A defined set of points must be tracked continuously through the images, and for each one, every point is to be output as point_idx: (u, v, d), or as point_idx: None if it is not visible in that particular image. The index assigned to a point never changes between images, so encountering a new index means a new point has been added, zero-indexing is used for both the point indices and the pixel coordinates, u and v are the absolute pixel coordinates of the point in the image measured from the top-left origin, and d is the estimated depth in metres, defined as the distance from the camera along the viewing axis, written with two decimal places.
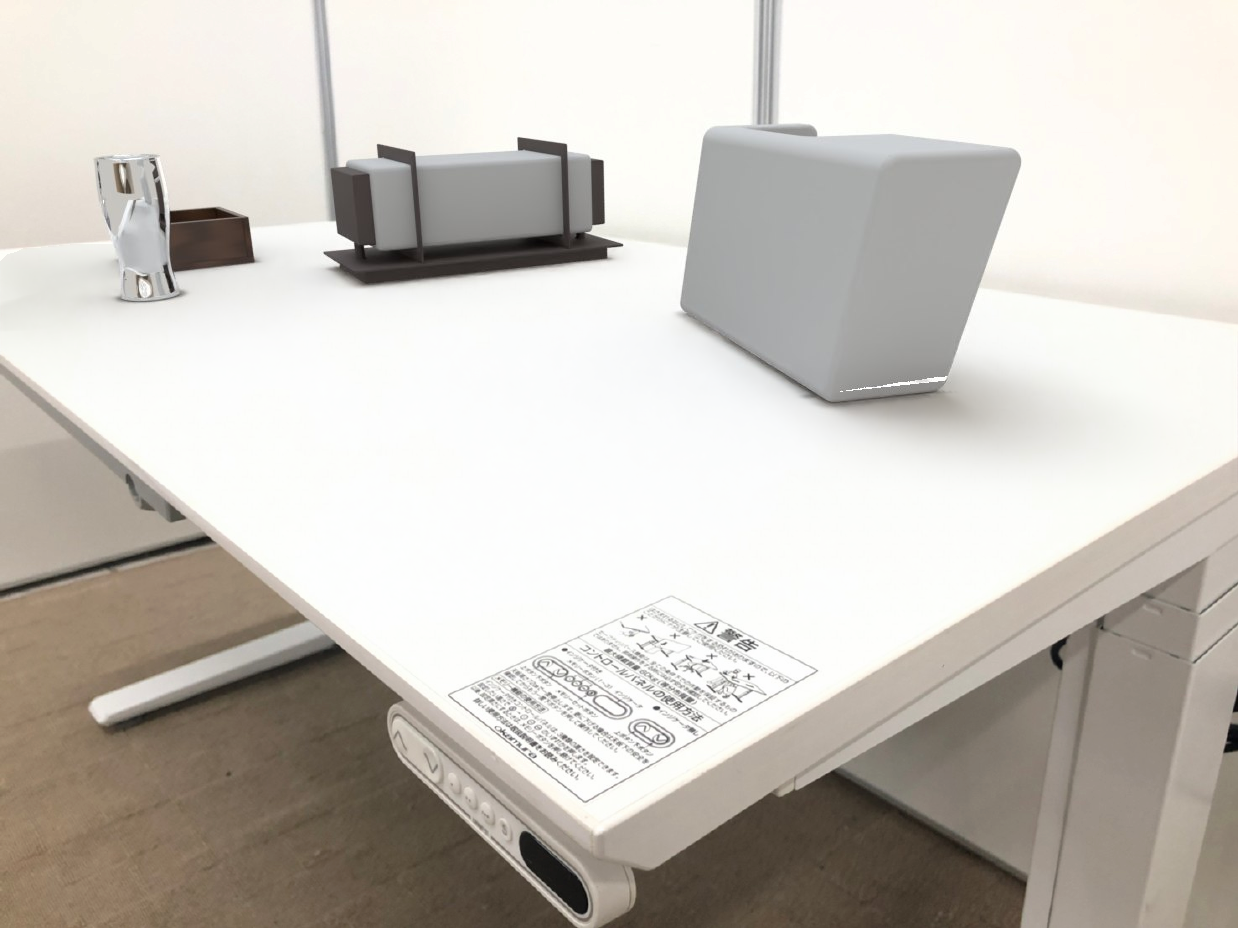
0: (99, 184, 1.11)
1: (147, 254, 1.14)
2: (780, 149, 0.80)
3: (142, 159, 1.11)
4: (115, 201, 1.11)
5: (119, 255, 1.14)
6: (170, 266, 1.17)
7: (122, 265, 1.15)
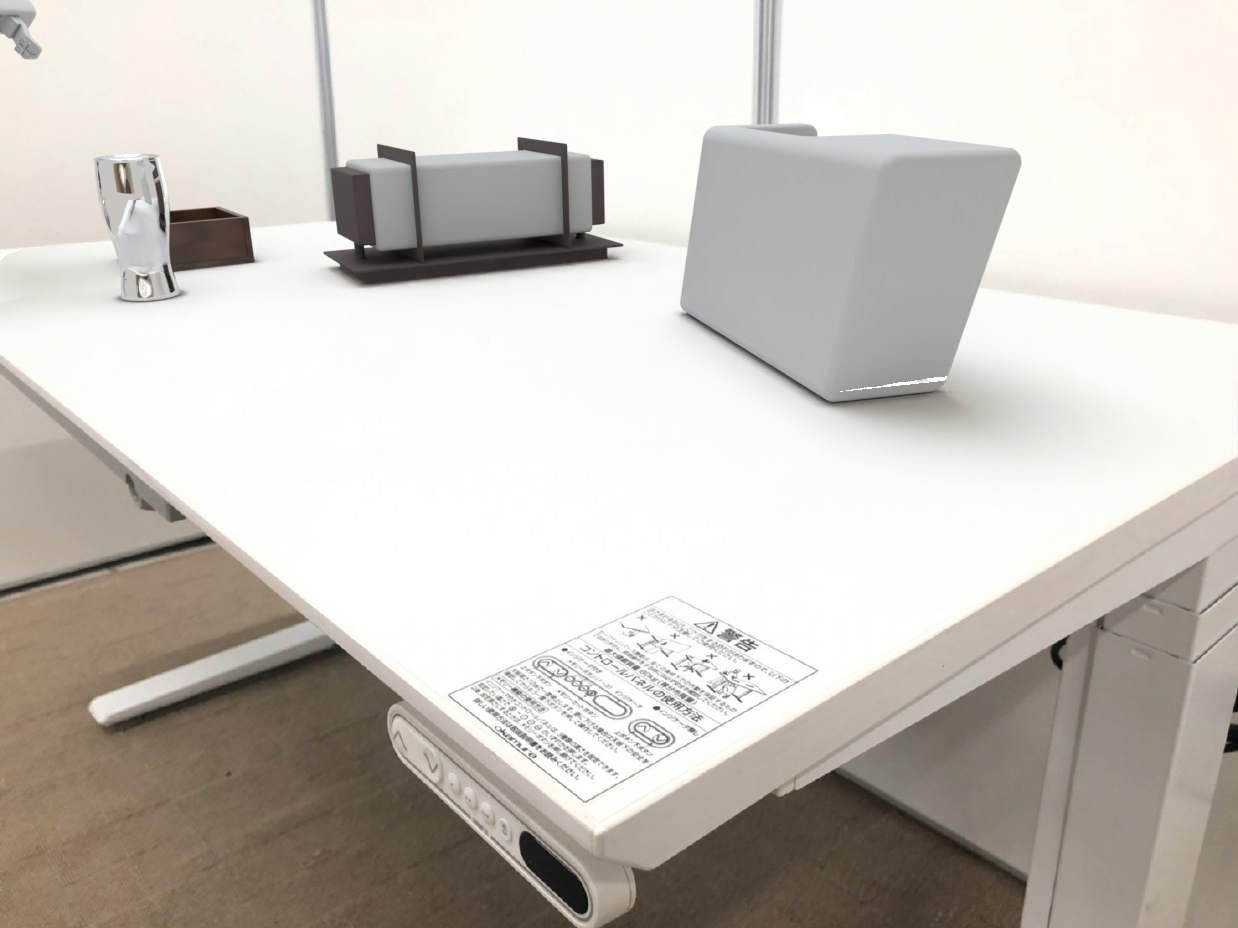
0: (99, 184, 1.11)
1: (147, 254, 1.14)
2: (780, 149, 0.80)
3: (142, 159, 1.11)
4: (115, 201, 1.11)
5: (119, 255, 1.14)
6: (170, 266, 1.17)
7: (122, 265, 1.15)
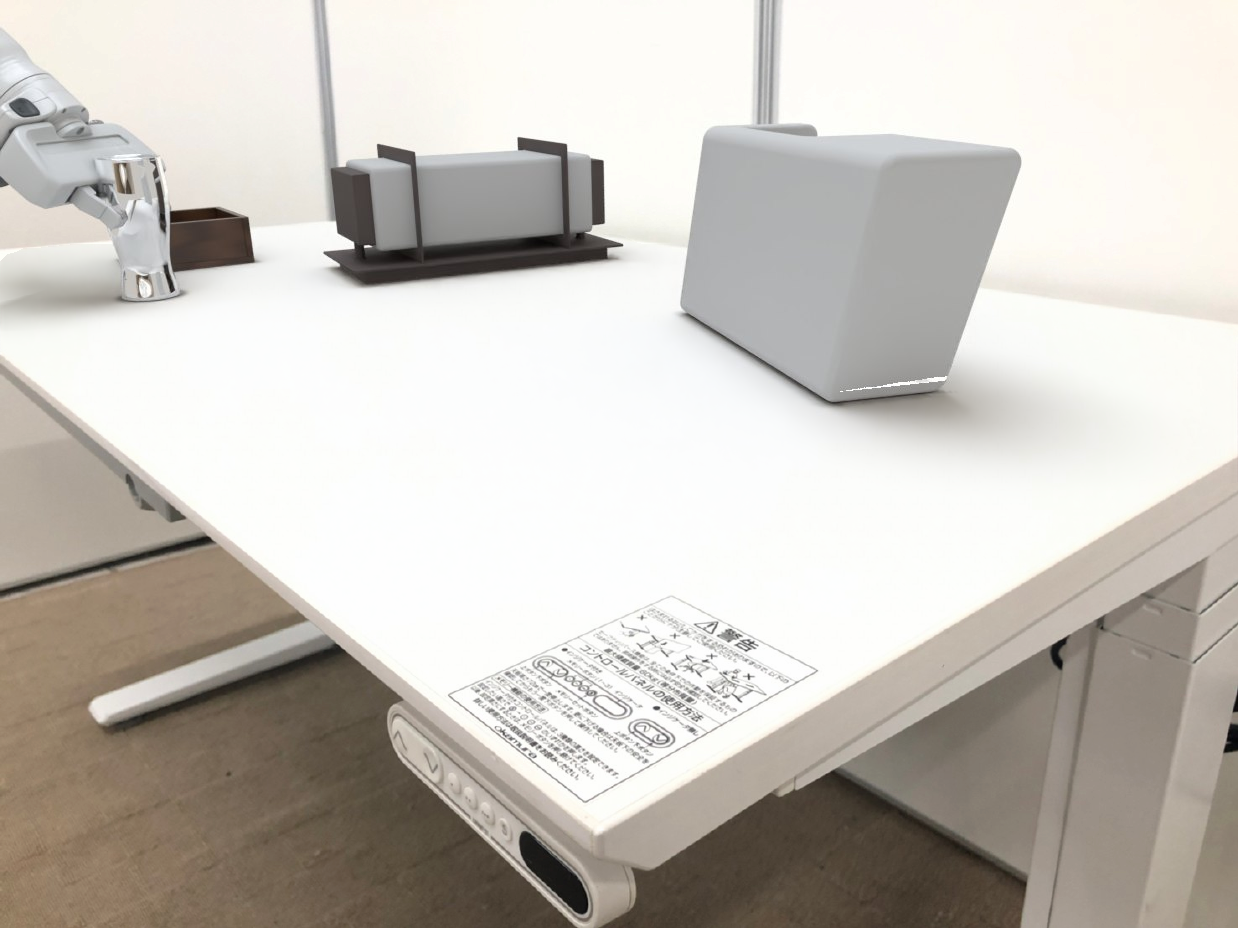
0: (99, 184, 1.11)
1: (147, 254, 1.14)
2: (780, 149, 0.80)
3: (142, 159, 1.11)
4: (115, 201, 1.11)
5: (119, 255, 1.14)
6: (170, 266, 1.17)
7: (122, 265, 1.15)
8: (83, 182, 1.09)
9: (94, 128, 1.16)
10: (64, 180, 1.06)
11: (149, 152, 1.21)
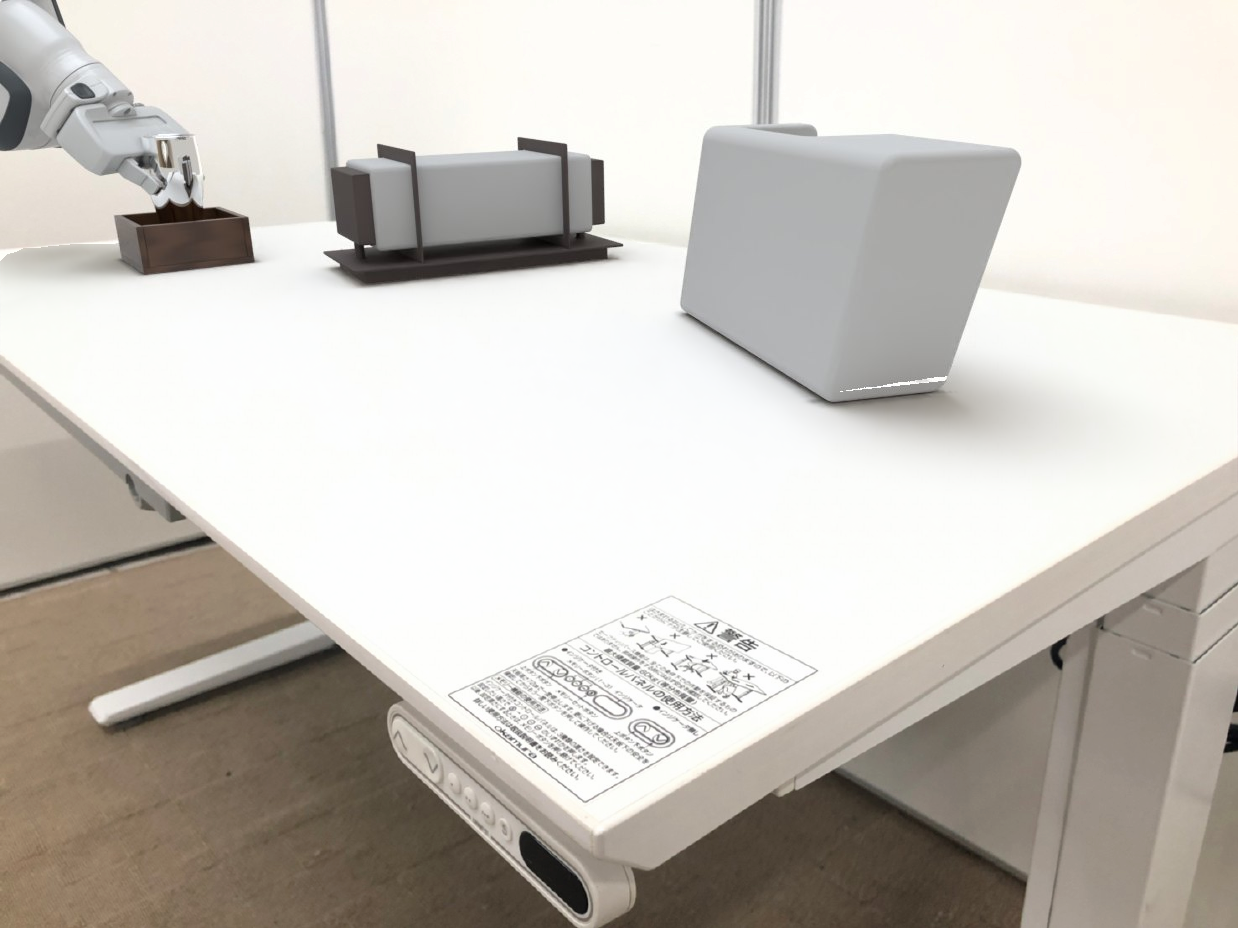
0: (145, 158, 1.32)
1: (184, 218, 1.35)
2: (780, 149, 0.80)
3: (181, 137, 1.32)
4: (158, 172, 1.32)
5: (160, 219, 1.35)
6: None
7: None
8: (131, 154, 1.29)
9: (138, 109, 1.37)
10: (116, 152, 1.27)
11: (183, 131, 1.42)
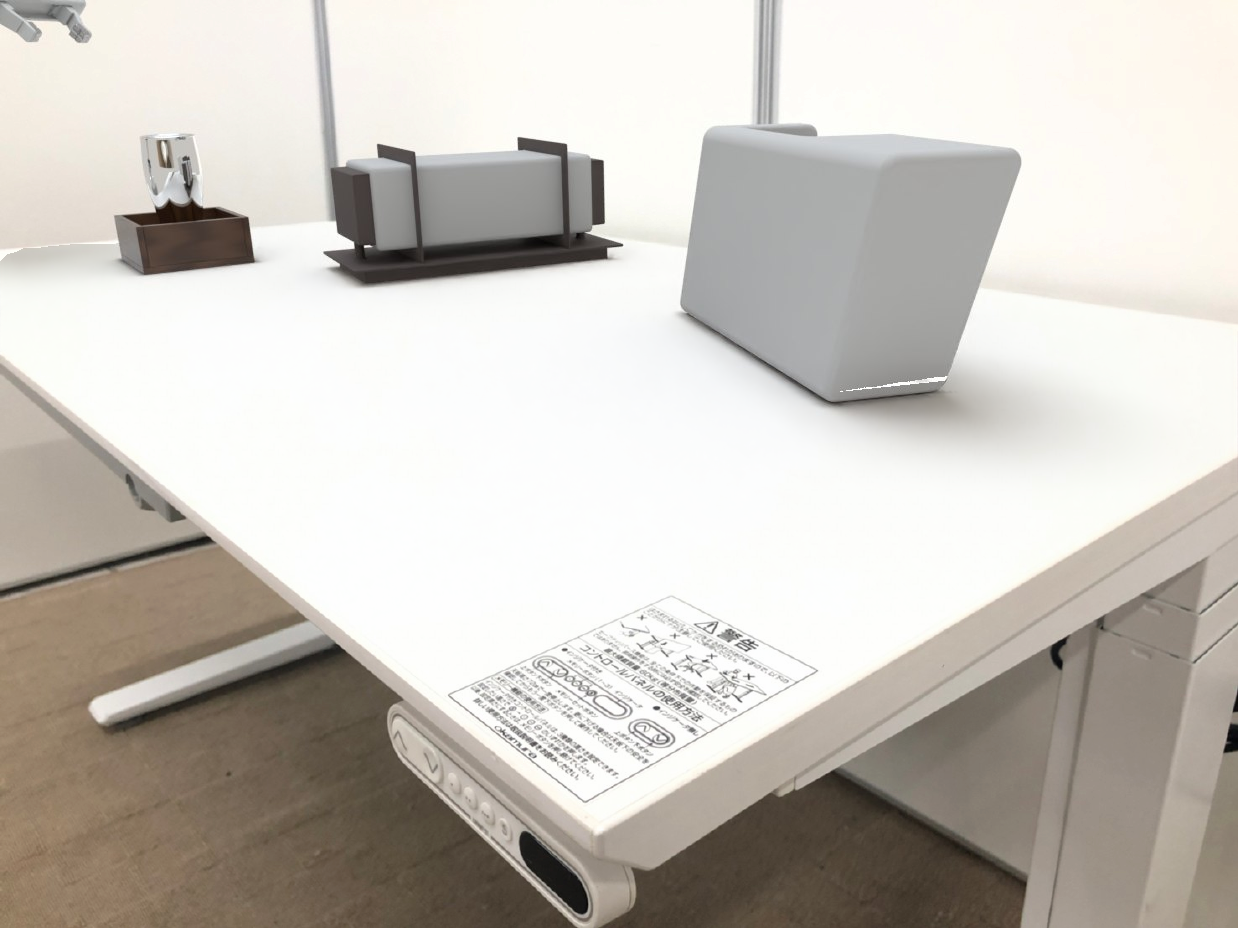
0: (144, 158, 1.32)
1: (184, 218, 1.35)
2: (780, 149, 0.80)
3: (181, 137, 1.32)
4: (158, 172, 1.32)
5: (160, 219, 1.35)
6: None
7: None
8: None
9: None
10: None
11: None
